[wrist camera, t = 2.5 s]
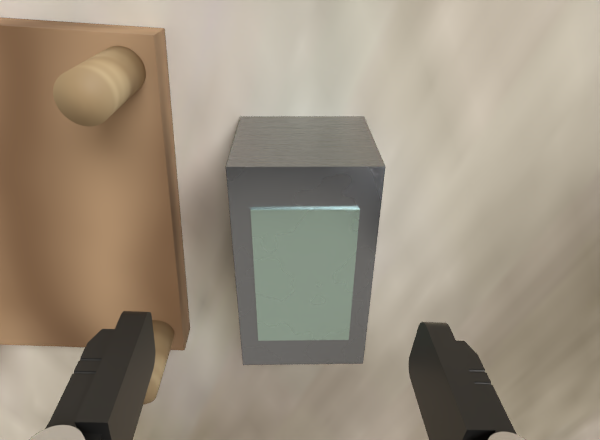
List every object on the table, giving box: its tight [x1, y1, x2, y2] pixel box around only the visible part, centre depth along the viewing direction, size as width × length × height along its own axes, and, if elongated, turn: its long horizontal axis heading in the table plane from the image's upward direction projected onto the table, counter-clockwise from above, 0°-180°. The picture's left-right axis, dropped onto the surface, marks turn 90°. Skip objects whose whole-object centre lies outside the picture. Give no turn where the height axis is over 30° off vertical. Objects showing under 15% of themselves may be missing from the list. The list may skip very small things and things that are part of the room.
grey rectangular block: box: [226, 116, 385, 365], centre depth 19 cm, size 5×9×5 cm, turn 0°
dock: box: [0, 18, 190, 404], centre depth 18 cm, size 11×15×5 cm
